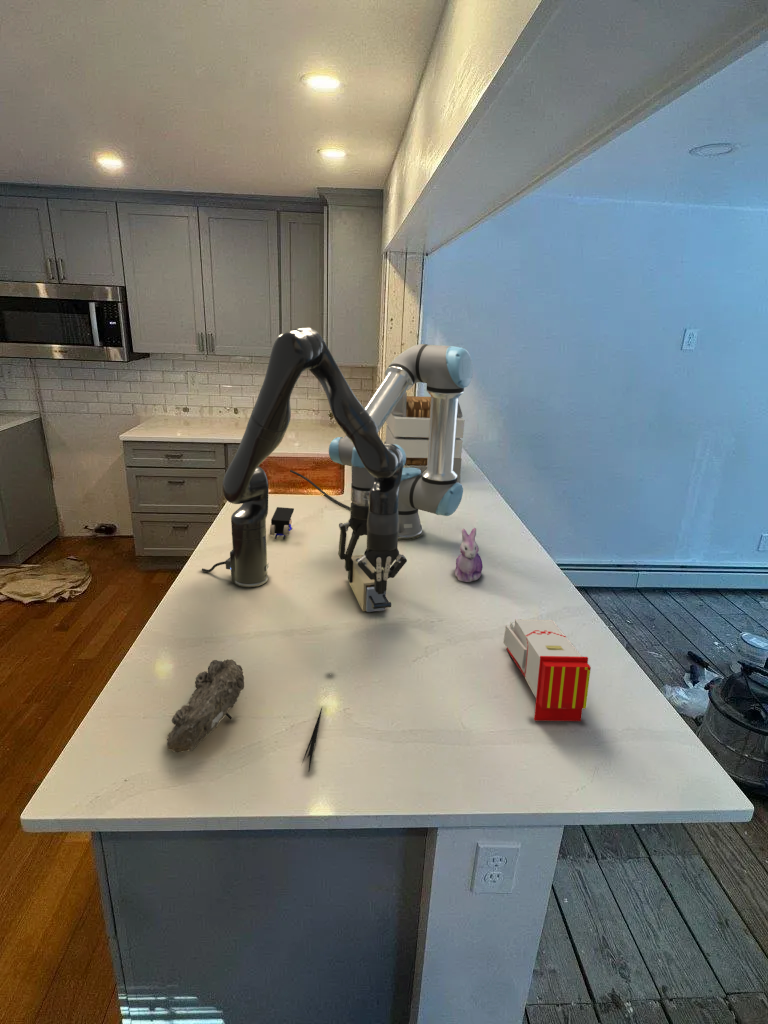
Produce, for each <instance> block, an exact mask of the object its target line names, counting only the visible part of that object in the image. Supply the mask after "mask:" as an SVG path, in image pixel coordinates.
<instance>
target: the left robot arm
mask: <svg viewBox="0 0 768 1024" xmlns="http://www.w3.org/2000/svg"><path fill="white" fill-rule="evenodd" d="M306 371H309V372H310V373H311V374H312V375H313V376H314V377H315V378H316V379H317V381H318V382H319V383H320V386H321V387H322V388H323V391H324V393H325V396H326V398H327V402H328V406H329V409H330V411H331V414H332V416H333V418H334V420H335V422H336V424H337V425H338V427H339V428H340V429H341V430H342V432H343V433H344V434H345V436H347V437H348V438H349V439H350V441H351V442H352V443H353V445H354V447H355V449H356V451H357V453H358V455H359V457H360V459H361V461H362V463H363V465H364V466H365V468H366V469H367V471H368V472H369V473H370V474H371V475H372V476H374V482H373V485H372V487H371V489H370V493H369V512H368V518H367V535H366V548H365V551H364V553H363V555H364V556H363V557H362V558H357V559H356V562H357V564H358V566H359V567H360V568H361V569H362V570H363V572H364V573H365V574H366V575H367V576H368V577H369V578H370V579H371V580H373V579H374V589H375V591H376V592H377V593H378V594H384V592H385V591H386V592H387V589H388V588H387V587H388V580H389V579H394V578H395V577H396V576H397V574H399V572H400V571H401V569H402V568H403V567H404V566H405V564H406V563H407V562H408V559H407V557H406V556H405V555H404V554H401V553H400V551H399V549H398V547H399V540H398V527H399V516H398V505H399V487H400V482H401V477H402V471H403V455H402V452H401V451H400V449H399V448H398V447H397V446H396V445H393V444H384V442H383V440H382V438H381V437H380V435H379V432H378V427H377V425H376V423H375V422H374V420H372V418H371V416H370V415H369V414H368V412H367V411H366V410H365V406H364V405H363V404H362V403H361V401H360V400H359V399H358V397H357V396H356V395H355V393H354V392H353V389H351V387H350V385H349V383H348V381H347V380H346V378H345V377H344V375H343V372H342V371H341V369H340V368H339V365H338V364H337V362H336V360H335V358H334V357H333V355H332V353H331V351H330V349H329V347H328V345H327V344H326V341H325V340H324V338H323V337H322V335H321V334H320V333H319V332H318V331H317V330H316V329H314V328H312V327H310V326H301V327H297V328H294V329H290V330H286V331H284V332H282V333H281V334H279V335H278V336H277V337H276V339H275V340H274V342H273V345H272V349H271V352H270V356H269V360H268V364H267V369H266V373H265V376H264V379H263V382H262V385H261V387H260V390H259V394H258V396H257V399H256V402H255V404H254V406H253V408H252V410H251V414H250V416H249V419H248V421H247V425H246V428H245V431H244V433H243V436H242V438H241V440H240V442H239V445H238V448H237V450H236V452H235V454H234V456H233V458H232V460H231V462H230V463H229V465H228V467H227V469H226V471H225V473H224V476H223V479H222V484H221V485H222V487H221V488H222V493H223V494H222V495H223V496H224V498H225V500H226V501H227V502H228V503H230V504H233V505H241V506H239V508H237V509H236V510H234V512H233V513H232V514H231V517H230V523H231V524H230V525H231V541H232V544H231V545H232V549H231V551H229V557H228V558H227V559H225V560H224V561H220V562H216V563H215V564H213V565H212V566H211V568H209V569H207V568H203V567H202V569H201V572H205V573H211V572H213V571H214V569H215V568H217V567H218V566H222V565H225V569H226V570H230V579H231V580H230V581H231V584H235V585H236V586H238V587H242V588H256V587H261V586H262V585H264V584H266V583H267V582H268V580H269V575H268V569H269V563H268V553H267V552H268V551H267V517H268V514H269V494H270V493H269V480H268V476H267V474H266V472H265V470H264V469H263V468H262V467H260V465H261V464H262V463H263V462H264V461H265V460H266V459H267V458H268V457H269V456H270V455H272V453H273V452H275V450H276V449H277V448H278V447H279V445H280V444H281V443H282V442H283V439H284V437H285V435H286V433H287V430H288V428H289V425H290V422H291V417H292V409H291V396H292V393H293V390H294V388H295V386H296V384H297V382H298V380H299V378H300V377H301V375H302V374H303V373H304V372H306ZM367 560H368V561H369V562H370V563H371V565H372V566H373V568H374V573H373V572H371V571H370V570H369V568H368V567H367V566H366V565H367Z"/></svg>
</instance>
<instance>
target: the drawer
mask: <svg viewBox="0 0 768 1024" xmlns="http://www.w3.org/2000/svg"><path fill="white" fill-rule="evenodd" d="M387 608H392V602H391V601H390V600H389V599H388V597H387V590H386V591H385V592H384V594H378V593H377V592H376V591H375V589H374V585H366V611H365V612H366V613H371V612H381V611H385V610H386V609H387Z"/></svg>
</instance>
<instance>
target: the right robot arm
mask: <svg viewBox="0 0 768 1024" xmlns="http://www.w3.org/2000/svg"><path fill="white" fill-rule="evenodd" d="M473 373H474V364H473V360H472V356H471V354H470V352H469V351H468V350H467V349H466V348H464V347H460V346H455V345H441V344H440V345H439V344H426V343H419V344H415V345H413V346H410V347H409V348H407V349H405V350H404V351H402V352H400V354H398V355H397V356H396V357H395V358H394V359H393V360H392V362H391V363H390V364H389V365H388V367H387V368H386V369H385V372H384V375H385V377H384V378H383V380H382V381H381V382H380V384H379V385H378V387H377V389H376V390H375V391H374V392H373V394H372V396H371V397H370V399H369V401H368V402H367V403H366V405H365V406H364V408H365V410H366V411H367V412H368V414H369V415H370V416H371V418H372V420H374V422H375V423H376V425H377V427H378V433H379V432H380V431H381V429H382V427H383V426H384V424H385V423H386V420H387V418H388V417H389V415H390V414H391V412H392V411H393V409H394V408H395V406H396V405H397V403H398V402H399V400H400V399H401V397H402V395H403V394H404V392H405V391H406V392H407V391H409V390H411V389H412V388H413V386H414V385H415V384H417V383H423V384H426V392H427V393H428V395H430V397H431V405H430V422H429V440H428V458H427V466H426V469H425V470H424V471H422V470H421V468H419V467H405V466H406V465H405V462H406V454H405V452H404V450H403V449H402V448H401V447H400V446H399V445H396V446H397V447H398V448H399V449H400V451H401V452H402V455H403V466H404V468H403V471H402V477H401V482H400V487H399V505H398V516H399V527H398V541H410V540H415V539H418V538H420V537H421V536H422V535H423V525H422V524H421V518H420V515H419V510H420V511H423V512H426V513H431V514H433V515H436V516H443V517H450V516H452V515H453V514H454V513H456V511H457V509H458V508H459V506H460V504H461V502H462V499H463V494H464V487H463V484H462V483H461V482H459V483H457V474H456V473H455V472H454V471H453V465H454V451H455V437H456V424H457V410H458V402H459V398H460V396H461V395H463V394H464V393H465V388H468V387H469V386H470V384H471V382H472V379H473ZM393 445H395V444H393ZM328 456H329V458H330V460H331V461H332V462H334V463H336V464H340V465H342V466H348V467H351V483H350V501H351V502H350V506H349V505H346V504H344V503H343V502H341V501H339V500H337V499H336V498H333V497H332V496H331V495H329V494H328V493H326V492H325V491H324V490H322V489H321V488H320V487H319V486H317V485H316V483H314V482H313V481H311V480H310V479H309V478H307V477H306V476H304V475H303V474H301V473H299V472H297V471H295V470H292V469H289V472H290V473H292V474H293V475H296V476H298V477H300V478H302V479H303V480H305V481H306V482H307V483H309V484H310V485H312V486H313V487H314V488H315V489H316V490H318V492H320V493H321V494H322V495H324V496H325V497H326V498H327V499H329V500H330V501H332V502H333V503H335V504H337V505H339V506H341V507H343V508H344V509H347V510H349V511H350V512H349V513H350V517H349V519H348V522H345V523H343V522H339V524H338V528H339V531H340V533H339V542H338V554H337V555H338V557H339V560H343V561H344V569H345V571H346V572H347V581H348V580H349V582H350V583H353V560H352V558H351V557H352V555H353V554H354V552H355V548H356V546H357V544H358V542H359V541H358V540H360V537H362V536H367V518H368V512H369V493H370V489H371V487H372V485H373V482H374V476H372V475H371V474H370V473H369V472H368V471H367V469H366V468H365V466H364V465H363V463H362V461H361V459H360V457H359V455H358V453H357V451H356V449H355V447H354V445H353V443H352V442H351V441H350V439H349V438H348V437H347V436H346V435H345V436H344V437H343V436H340V437H339V436H337V437H334V438H333V439H332V440H331V441H330V443H329V445H328ZM349 528H351V530H352V532H351V536H350V539H349V542H348V544H347V532H348V531H349ZM346 545H347V548H346ZM349 582H348V583H349Z"/></svg>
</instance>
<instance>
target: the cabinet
mask: <svg viewBox="0 0 768 1024" xmlns="http://www.w3.org/2000/svg"><path fill="white" fill-rule="evenodd" d="M363 556H364V554H354V555H353V554H352V557H351V558H352V560H353V583H350V582H349V580H348V579H347V581H348V584H349V586H350V588H351V590H352V592H353V594H354V596H355V599H356V600H357V603H358V604H359V606H360V609H361V611H362V612H367V611H366V585H374V579H373V580H371V579H370V578H369V577H368V576H367V575H366V574H365V573H364V572H363V570H362V569H361V568H360V567H359V566H358V564H357V562H356V559H357V558H362V557H363ZM366 566H367V567H368V568H369V570H370V571H371V572H373V573H374V568H373V566H372V565H371V563H370V562H369V561H368V560H367V565H366Z"/></svg>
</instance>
